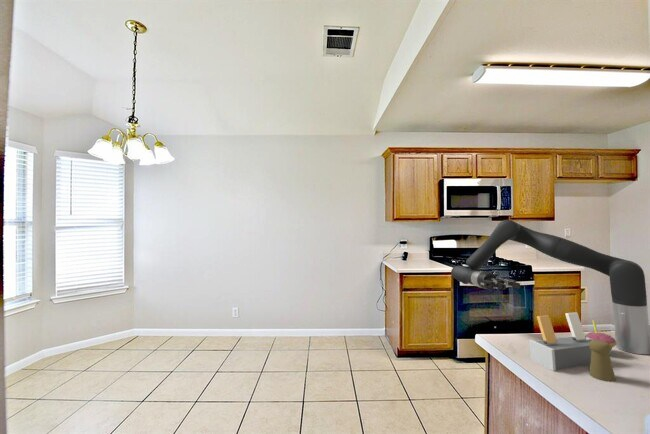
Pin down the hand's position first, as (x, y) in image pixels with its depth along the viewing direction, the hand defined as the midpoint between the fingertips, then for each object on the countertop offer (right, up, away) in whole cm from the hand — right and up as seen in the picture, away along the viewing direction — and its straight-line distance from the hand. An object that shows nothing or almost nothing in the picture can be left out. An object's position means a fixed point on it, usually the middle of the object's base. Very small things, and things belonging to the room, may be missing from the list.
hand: (512, 286), depth 119 cm
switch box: (+10, -23, -16) cm, 29 cm away
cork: (+12, -23, -26) cm, 37 cm away
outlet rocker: (+3, -16, -16) cm, 23 cm away
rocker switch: (+15, -16, -14) cm, 26 cm away
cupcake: (+27, -23, -10) cm, 37 cm away
